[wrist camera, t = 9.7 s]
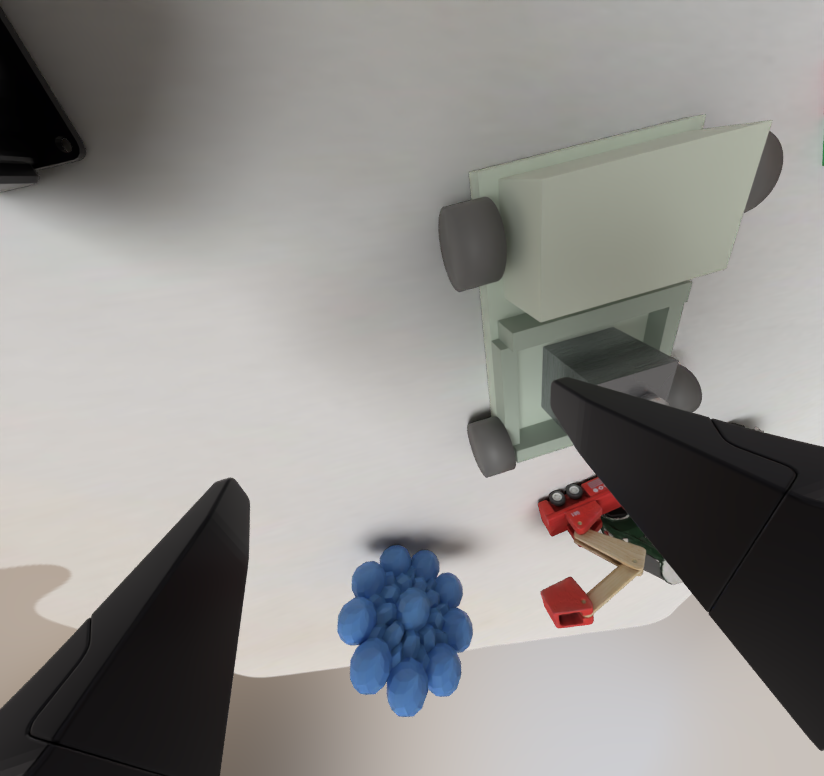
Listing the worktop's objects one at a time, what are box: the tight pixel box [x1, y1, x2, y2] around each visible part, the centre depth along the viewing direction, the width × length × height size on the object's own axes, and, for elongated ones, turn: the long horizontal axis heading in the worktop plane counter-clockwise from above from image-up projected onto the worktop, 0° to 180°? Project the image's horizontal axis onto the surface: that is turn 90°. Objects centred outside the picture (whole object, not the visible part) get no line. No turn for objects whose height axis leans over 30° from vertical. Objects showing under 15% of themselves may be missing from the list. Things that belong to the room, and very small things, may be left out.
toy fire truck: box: [538, 477, 646, 628], centre depth 30 cm, size 3×14×10 cm, turn 110°
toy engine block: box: [541, 327, 678, 433], centre depth 21 cm, size 5×5×6 cm
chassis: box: [439, 114, 783, 478], centre depth 21 cm, size 20×16×5 cm
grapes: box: [338, 545, 473, 717], centre depth 27 cm, size 12×7×12 cm, turn 66°
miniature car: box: [598, 423, 764, 585], centre depth 33 cm, size 9×18×8 cm, turn 123°
